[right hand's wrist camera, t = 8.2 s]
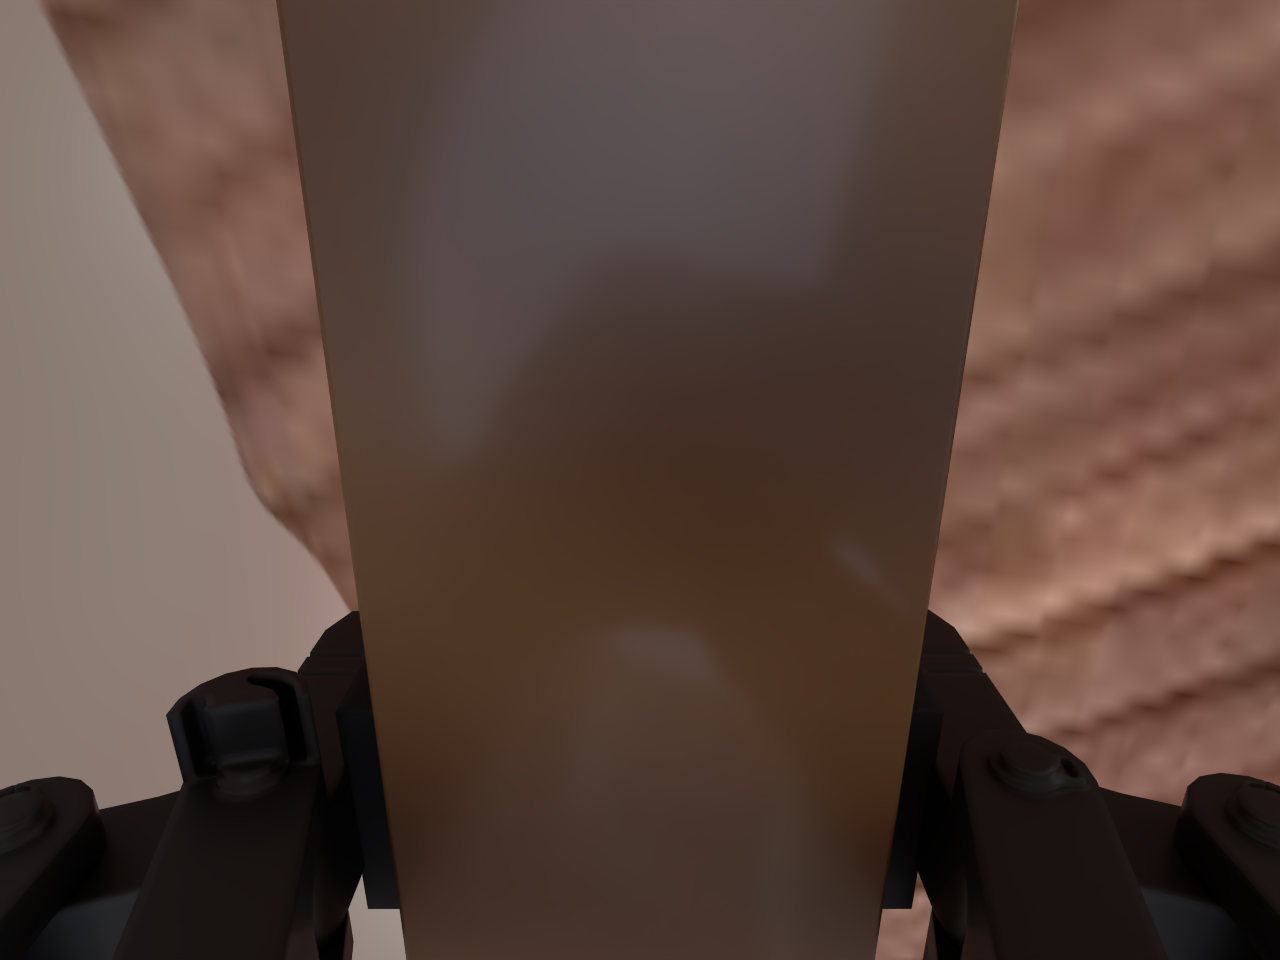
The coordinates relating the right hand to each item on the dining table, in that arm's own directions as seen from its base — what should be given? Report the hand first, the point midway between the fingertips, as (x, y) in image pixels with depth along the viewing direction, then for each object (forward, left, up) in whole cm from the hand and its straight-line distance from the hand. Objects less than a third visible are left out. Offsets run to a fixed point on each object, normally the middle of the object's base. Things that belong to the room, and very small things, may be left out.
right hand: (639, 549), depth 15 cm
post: (+8, -26, -1) cm, 27 cm away
